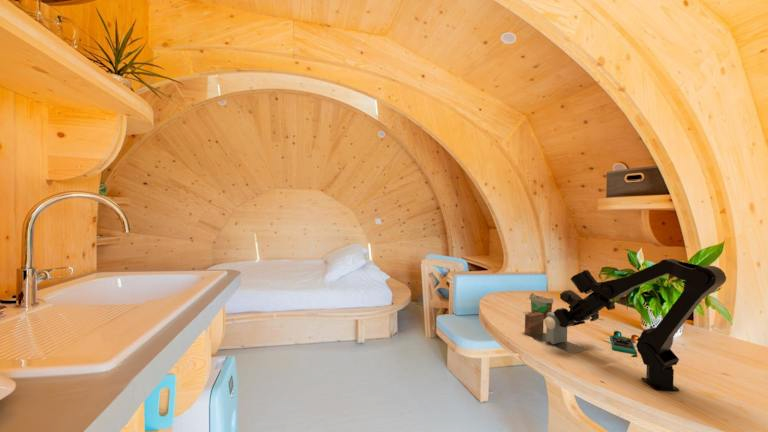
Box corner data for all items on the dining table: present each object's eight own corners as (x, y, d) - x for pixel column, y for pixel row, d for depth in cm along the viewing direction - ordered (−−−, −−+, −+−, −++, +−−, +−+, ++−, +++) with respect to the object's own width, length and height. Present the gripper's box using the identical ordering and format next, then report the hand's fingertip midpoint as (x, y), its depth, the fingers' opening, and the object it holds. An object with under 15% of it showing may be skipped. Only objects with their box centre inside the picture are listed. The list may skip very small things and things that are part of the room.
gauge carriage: (568, 341, 130) (569, 312, 130) (551, 345, 126) (552, 316, 126) (555, 336, 136) (555, 309, 135) (538, 340, 131) (539, 312, 131)
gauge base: (588, 352, 124) (588, 349, 124) (570, 357, 120) (571, 354, 119) (536, 332, 144) (536, 329, 144) (519, 336, 139) (520, 333, 139)
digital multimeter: (632, 345, 133) (632, 337, 133) (636, 359, 120) (637, 350, 120) (609, 341, 136) (609, 333, 136) (611, 354, 124) (612, 346, 124)
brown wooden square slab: (543, 332, 140) (543, 313, 140) (529, 336, 137) (530, 316, 137) (538, 330, 143) (538, 312, 142) (524, 333, 139) (525, 314, 139)
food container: (523, 313, 170) (523, 293, 170) (532, 312, 172) (532, 292, 172) (544, 321, 159) (544, 299, 158) (553, 319, 161) (553, 298, 161)
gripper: (591, 282, 128) (563, 304, 138) (559, 287, 119) (532, 309, 130) (613, 309, 121) (581, 329, 131) (580, 316, 113) (549, 337, 123)
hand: (561, 325), depth 129 cm, fingers closed, pressing on gauge carriage
